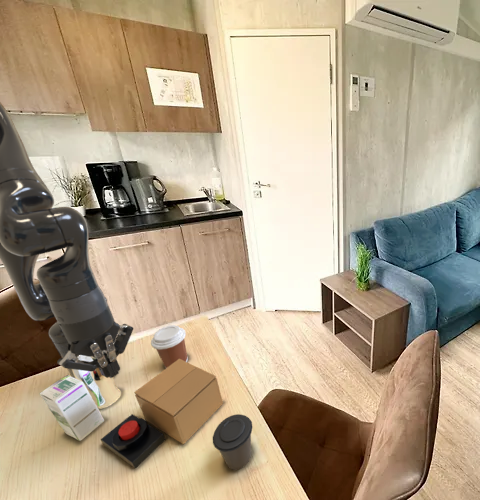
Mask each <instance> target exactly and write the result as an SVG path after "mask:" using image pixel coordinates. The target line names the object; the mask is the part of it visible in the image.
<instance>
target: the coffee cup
mask: <svg viewBox="0 0 480 500" xmlns="http://www.w3.org/2000/svg"><path fill="white" fill-rule="evenodd" d="M252 431H253V422H252V420H251V419H250V417H248V416H247V415H245V414H240V413H238V414H237V413H236V414H233V415H230V416H227V417H226V418H225V419H222V421H221V422H220V423H219V424H218V425H217V426H216V427H215V429H214V432H213V435H212V445H213V446H214V448H215V449H216V450H217V451H219V452H220V454H221V456H222V459H223V460H224V462H225V464H226V466H227V467H228V468H229V469H230V470H233V471H237V470H240V469H243V468H244V467H245V466H247V464H248V463H249V462H250V459H251V458H252V435H251V434H252Z"/></svg>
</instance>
